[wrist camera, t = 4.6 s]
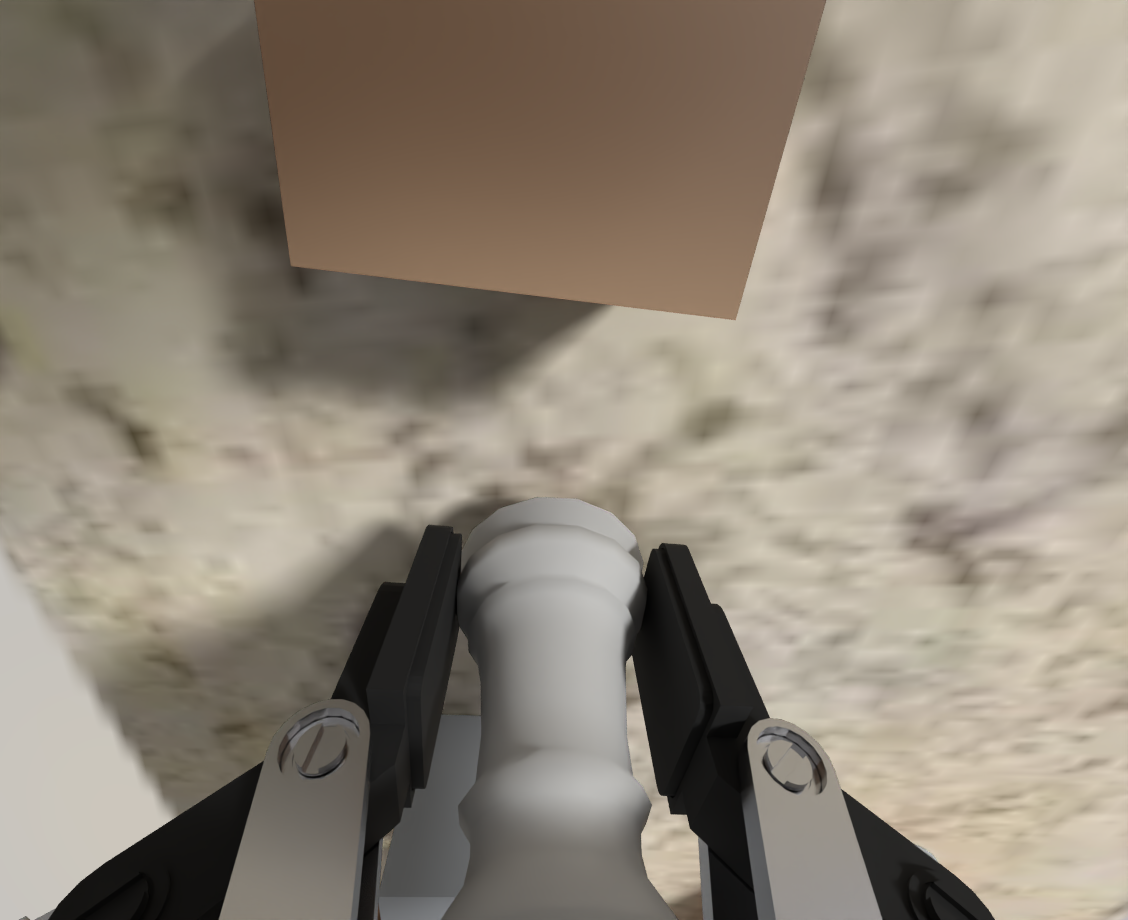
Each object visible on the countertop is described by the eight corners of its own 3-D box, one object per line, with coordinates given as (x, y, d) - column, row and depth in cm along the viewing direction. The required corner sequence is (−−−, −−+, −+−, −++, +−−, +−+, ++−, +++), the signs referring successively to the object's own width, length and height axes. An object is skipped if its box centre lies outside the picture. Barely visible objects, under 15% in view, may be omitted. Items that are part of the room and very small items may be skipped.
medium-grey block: (422, 711, 16) (377, 896, 12) (564, 716, 17) (571, 897, 12) (425, 791, 18) (388, 970, 14) (549, 793, 19) (551, 969, 14)
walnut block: (399, -110, 7) (162, -655, 3) (711, -49, 8) (947, -427, 3) (409, 244, 9) (291, 266, 5) (649, 275, 10) (735, 319, 5)
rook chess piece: (448, 607, 12) (318, 1146, 5) (478, 465, 10) (330, 1039, 3) (608, 634, 13) (681, 1139, 6) (666, 506, 11) (884, 1047, 4)
